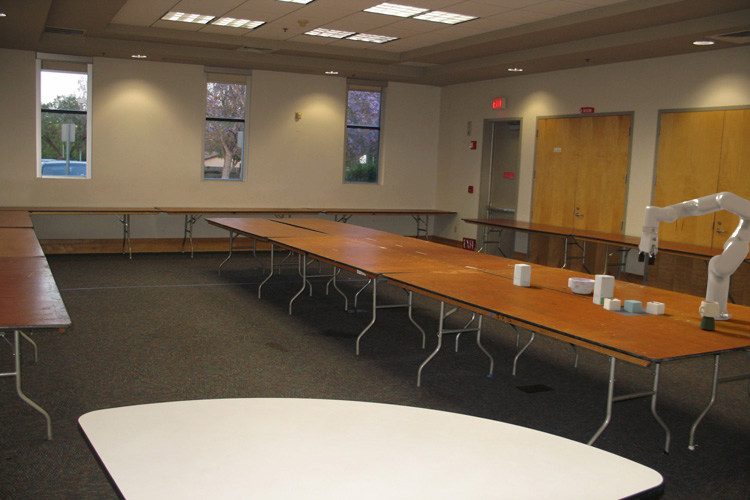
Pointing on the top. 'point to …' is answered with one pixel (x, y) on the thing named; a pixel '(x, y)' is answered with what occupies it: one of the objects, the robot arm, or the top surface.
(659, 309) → the digit block one
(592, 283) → the paper bowls
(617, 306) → the digit block seven
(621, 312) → the mat
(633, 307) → the plain block
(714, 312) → the character mug
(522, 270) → the supplement box
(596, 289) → the skincare box
